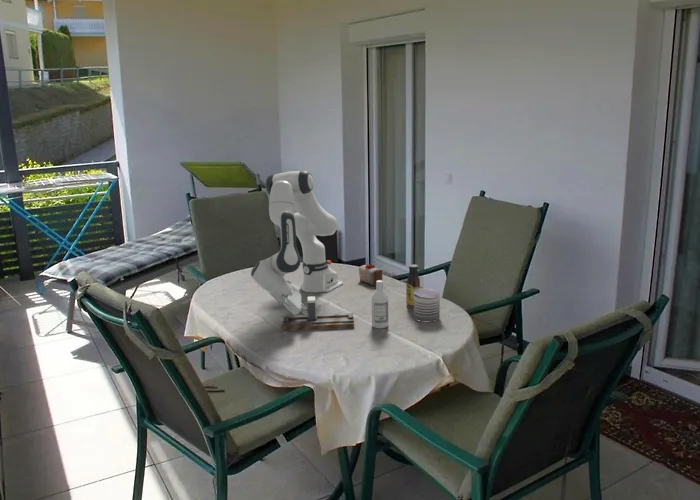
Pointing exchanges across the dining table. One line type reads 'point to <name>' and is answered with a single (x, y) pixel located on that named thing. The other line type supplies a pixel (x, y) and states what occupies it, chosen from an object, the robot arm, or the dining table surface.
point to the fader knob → (311, 309)
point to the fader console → (318, 322)
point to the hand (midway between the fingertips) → (306, 312)
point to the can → (426, 304)
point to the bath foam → (379, 307)
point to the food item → (370, 274)
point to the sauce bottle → (412, 285)
